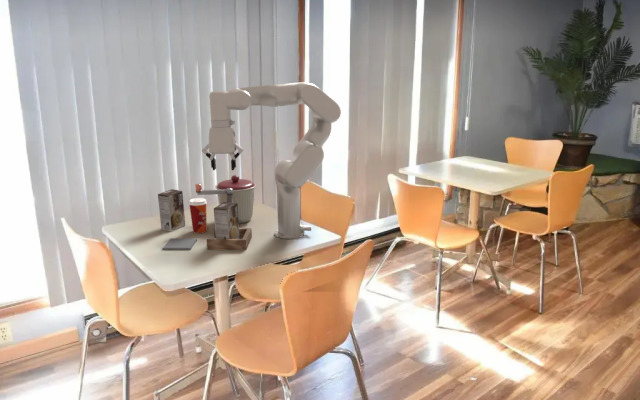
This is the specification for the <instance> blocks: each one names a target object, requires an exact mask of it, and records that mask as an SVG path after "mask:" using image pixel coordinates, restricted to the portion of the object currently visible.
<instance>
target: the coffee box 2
mask: <svg viewBox="0 0 640 400" xmlns="http://www.w3.org/2000/svg"><path fill="white" fill-rule="evenodd" d="M213 217H214V219H213V220H214V228H215V233H216V238H215V239H241V238H240V236H239V228H240V223H239V219H238V203H228V202H223V203H222V204H220V205H219V204H218V205H217V206H215V207H213Z"/></svg>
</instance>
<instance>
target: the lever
mask: <svg viewBox="0 0 640 400" xmlns="http://www.w3.org/2000/svg"><path fill="white" fill-rule="evenodd" d="M195 193H196V194H197V196H204V195H205V196H209V195H210V196H211V195H218V194H227V195H232V194H233V188H227V189H222V190H217V189H202V183H196V184H195Z"/></svg>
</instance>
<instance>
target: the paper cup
mask: <svg viewBox="0 0 640 400" xmlns="http://www.w3.org/2000/svg"><path fill="white" fill-rule="evenodd" d="M207 203H208V201H207V199H206V198H203V197H196V198H195V197H194V198H191V199H189V202H188V205H189V210H190V212H189V213H190V218H191V226H192V231H193V233H194V234H203V233H206V232H207V222H208V221H207V220H208V219H207Z"/></svg>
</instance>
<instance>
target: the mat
mask: <svg viewBox="0 0 640 400" xmlns="http://www.w3.org/2000/svg"><path fill="white" fill-rule="evenodd" d="M196 242H198V238H185V237H184V238H183V237H181V238H180V237H179V238H173V237H172V238H169V240H167V242H166V243H165V244H164V246H163V247H162V251H191V250H192V248H193V247H194V245H195V244H196Z"/></svg>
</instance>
